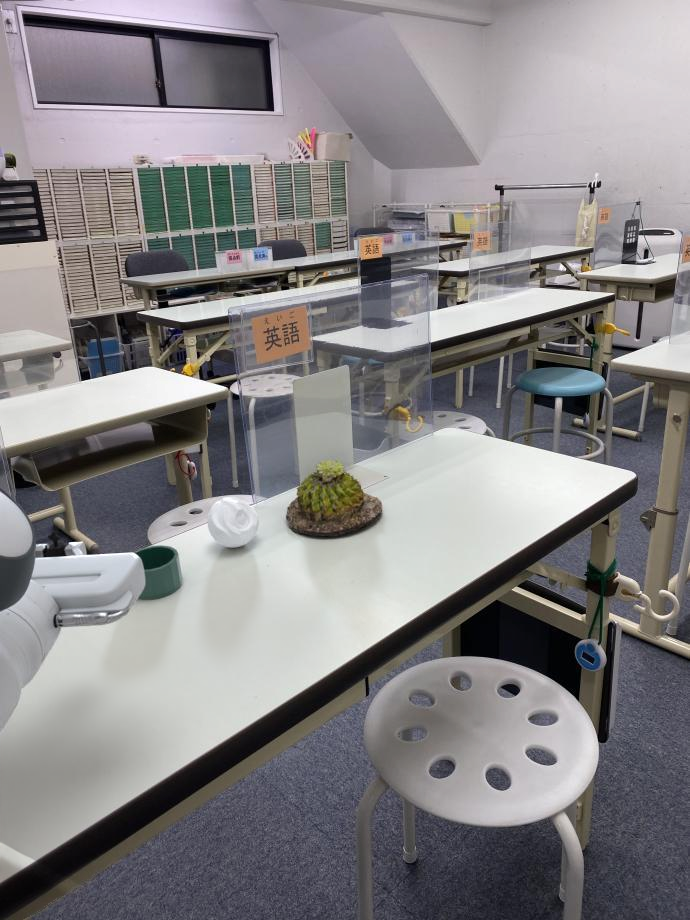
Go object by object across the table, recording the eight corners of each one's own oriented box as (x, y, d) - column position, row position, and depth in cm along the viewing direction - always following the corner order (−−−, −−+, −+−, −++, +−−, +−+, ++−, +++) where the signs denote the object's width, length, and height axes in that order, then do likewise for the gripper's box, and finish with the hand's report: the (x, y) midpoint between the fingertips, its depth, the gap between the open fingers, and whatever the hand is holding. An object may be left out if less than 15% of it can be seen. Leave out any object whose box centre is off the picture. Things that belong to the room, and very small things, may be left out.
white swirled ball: (231, 561, 104) (225, 515, 101) (200, 547, 108) (193, 503, 105) (269, 540, 109) (264, 496, 106) (238, 528, 114) (232, 485, 111)
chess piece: (70, 630, 71) (50, 545, 67) (41, 621, 73) (20, 537, 69) (102, 608, 74) (85, 526, 71) (73, 599, 76) (55, 519, 73)
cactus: (348, 547, 105) (344, 489, 102) (266, 527, 113) (260, 473, 110) (399, 503, 119) (398, 451, 115) (323, 488, 127) (319, 439, 123)
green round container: (123, 601, 95) (117, 573, 93) (137, 573, 102) (131, 547, 100) (176, 597, 95) (171, 569, 93) (186, 570, 102) (182, 543, 100)
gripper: (117, 588, 58) (155, 516, 70) (-126, 602, 57) (-44, 527, 70) (130, 650, 60) (164, 569, 73) (-104, 664, 60) (-28, 580, 73)
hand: (60, 548), depth 72 cm, fingers closed on chess piece, 2 cm apart
